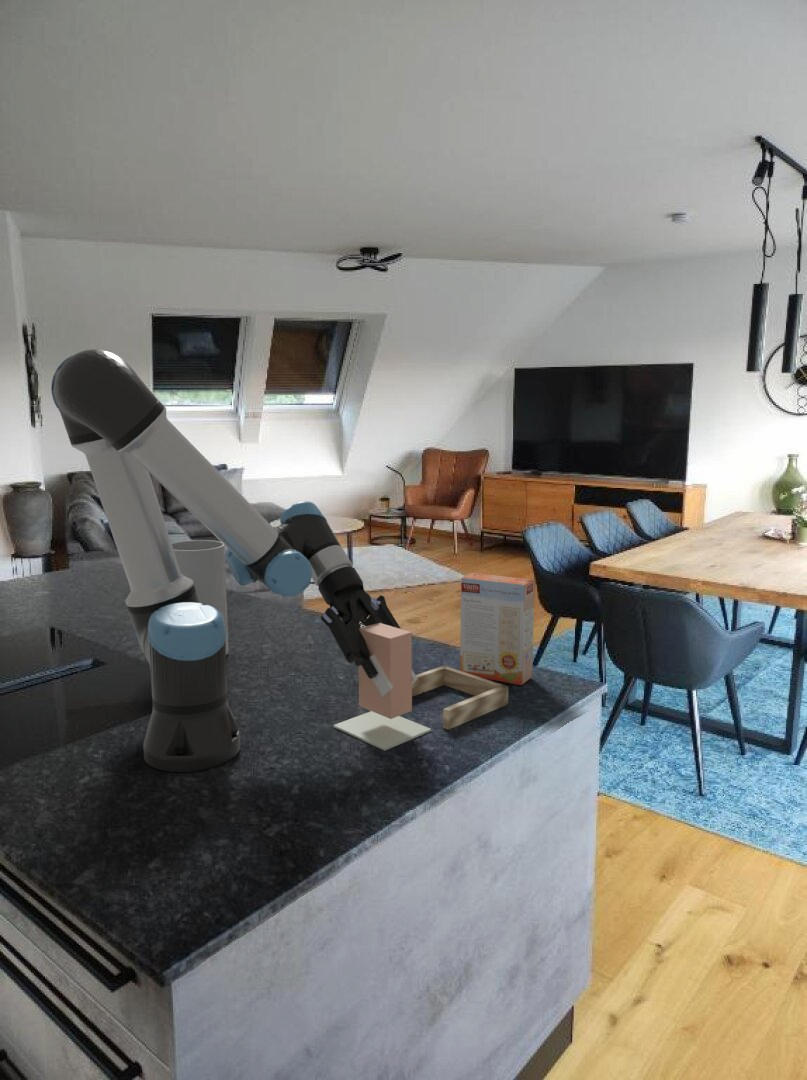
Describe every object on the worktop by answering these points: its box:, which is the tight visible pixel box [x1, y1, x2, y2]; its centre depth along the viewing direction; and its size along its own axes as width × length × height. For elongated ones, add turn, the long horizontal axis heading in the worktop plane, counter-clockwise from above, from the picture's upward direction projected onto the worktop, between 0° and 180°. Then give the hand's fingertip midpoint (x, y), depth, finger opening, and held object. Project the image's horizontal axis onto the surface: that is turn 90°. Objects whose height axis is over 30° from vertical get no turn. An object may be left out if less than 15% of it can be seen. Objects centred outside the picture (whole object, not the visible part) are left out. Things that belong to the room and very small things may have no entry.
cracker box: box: [459, 572, 536, 686], centre depth 162 cm, size 14×6×21 cm, turn 59°
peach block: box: [357, 623, 413, 719], centre depth 136 cm, size 5×8×14 cm, turn 45°
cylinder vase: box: [171, 539, 229, 656], centre depth 174 cm, size 12×12×25 cm
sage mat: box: [333, 710, 432, 752], centre depth 138 cm, size 11×13×1 cm
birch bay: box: [412, 665, 509, 730], centre depth 149 cm, size 17×16×4 cm
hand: (400, 687), depth 134 cm, fingers closed on peach block, 5 cm apart
